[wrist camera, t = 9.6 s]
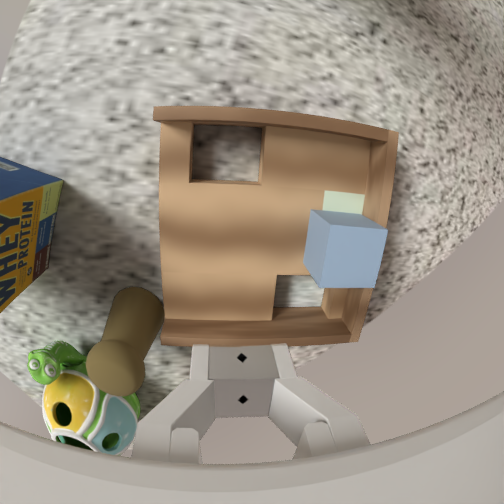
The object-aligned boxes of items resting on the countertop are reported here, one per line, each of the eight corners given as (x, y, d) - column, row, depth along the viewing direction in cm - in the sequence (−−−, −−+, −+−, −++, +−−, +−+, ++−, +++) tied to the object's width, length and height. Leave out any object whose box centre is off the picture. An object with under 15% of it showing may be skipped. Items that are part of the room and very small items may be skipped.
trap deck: (167, 114, 23) (153, 106, 18) (368, 132, 26) (398, 132, 20) (169, 313, 30) (161, 345, 25) (339, 313, 32) (357, 341, 27)
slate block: (310, 209, 25) (330, 224, 21) (361, 214, 26) (388, 229, 21) (302, 262, 27) (319, 287, 22) (351, 264, 28) (374, 287, 23)
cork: (115, 279, 28) (75, 343, 18) (169, 296, 30) (150, 368, 19) (110, 324, 30) (77, 393, 20) (159, 340, 31) (142, 414, 21)
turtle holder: (105, 308, 29) (64, 382, 18) (157, 412, 36) (148, 481, 25) (30, 318, 29) (-16, 376, 18) (88, 412, 36) (68, 471, 24)
